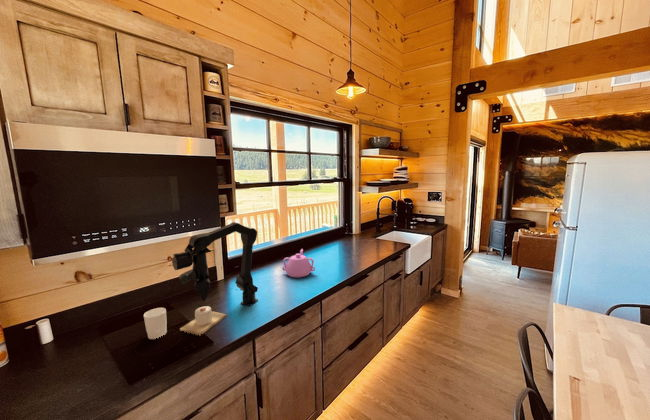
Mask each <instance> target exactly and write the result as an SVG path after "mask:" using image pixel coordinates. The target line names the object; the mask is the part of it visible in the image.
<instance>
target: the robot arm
mask: <svg viewBox="0 0 650 420" xmlns="http://www.w3.org/2000/svg"><path fill="white" fill-rule="evenodd" d="M233 233H238V234H240V240H241V243H242V253H241V266H240V267H241V268H240V273H239V275H236V276H235V284H236V287H237V288H239V289H240V291H242V296H241V297H242V298H241V299H242V301H241V302H240V304H241V305H243V306H244V305H245V306H250V307H251V306H253V305H254V304H255V303H257V302H258V301H259V299H258V298H256V293H257V292H258V289H259V288H258V287H257V286H256V285H255V284H254V280H253V276H252V273H251V271H252V259H253V248H254V244H255V242H256V241H257V237H258V231H257V228H253V227H249V226H245V225H242V224H240V223H239V222H235V221H233V222H231V223H229V224H227V225H225V226H221V227H219V228H217V229H214V230H212V231H209V232H205V233H199V234H194V235H193V236H191V237H190V238H189V240H188V243H187V246H185V248H184V251H183V252H179V253H178V252H177V253H174V254H173V255H172V256H173V257H172V261H171V262H172V266H173V269H174V271H179V270H184V269H186V268H189V267H191V266H192V268H191V269H190V270H187V271H184V272H183V273H181V274H179V280H180V283H181V284H182V285H185V284H187V283H189V282H190V281H191V280H193V281H195V282H194V283H193V286H194V291H195V292H198V293H199V295H200V298H201V301H202V302H205V301H206V300H207V297H208V294H209V292H210V289H211V287H212V286H211V280H210V279H209V266H208V259H207V258H208V257H207V254H208V253H211V252H212V250H211V249H209V248H208V247H209V246H210V245H212V243H214V242H215V241H218V240H219V239H222V238H224V237H227V236H229V235H231V234H233Z"/></svg>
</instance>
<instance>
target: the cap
mask: <svg viewBox="0 0 650 420" xmlns="http://www.w3.org/2000/svg"><path fill="white" fill-rule="evenodd" d="M194 319H195V322H196V324H197V325H205V324H208V323H210V322H211V321H212V307H210V306H209V305H206V306H201V307H198V308H196V309H195V311H194Z"/></svg>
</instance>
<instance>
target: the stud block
mask: <svg viewBox="0 0 650 420" xmlns="http://www.w3.org/2000/svg"><path fill="white" fill-rule="evenodd" d="M226 317H227V314H226V313H221V312H217V311H214V310H213V311H212V321H211V322H210V323H208V324H205V325H197V324H196V322H195V318H194V319H193V320H191V321H189V322H188V323H186V324H185V325H183V326H181V327H180V328H179V331H180V332H182V331H184V332H183V333H186V332H187V334H190V333H191V335H194V334H195V336H198V335H199V337H200V336H202V335H203V334H205V333H206V332H207V331H209V330H210V329H211V328H213V327H214V326H215V325H217V324H218V323H219V322H221V321H222V320H224V318H226ZM201 334H202V335H201Z"/></svg>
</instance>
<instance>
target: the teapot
mask: <svg viewBox="0 0 650 420" xmlns="http://www.w3.org/2000/svg"><path fill="white" fill-rule="evenodd" d="M286 260H288V261H287V263H286ZM310 261H311V262H310ZM282 263H283V266H282V269H281V270H282V271H285V273H286V274H287V275H288V276H289V277H291V278H304V277H307V276H309V275H310V274H311V272H314V271H316V268H315V267H314V259H313V258H312V257H308V258H307V256H306V255H304V249H303V248H301V249H300V250H299V253H295V255H291V256H290V257H284V259H283V260H282Z"/></svg>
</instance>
